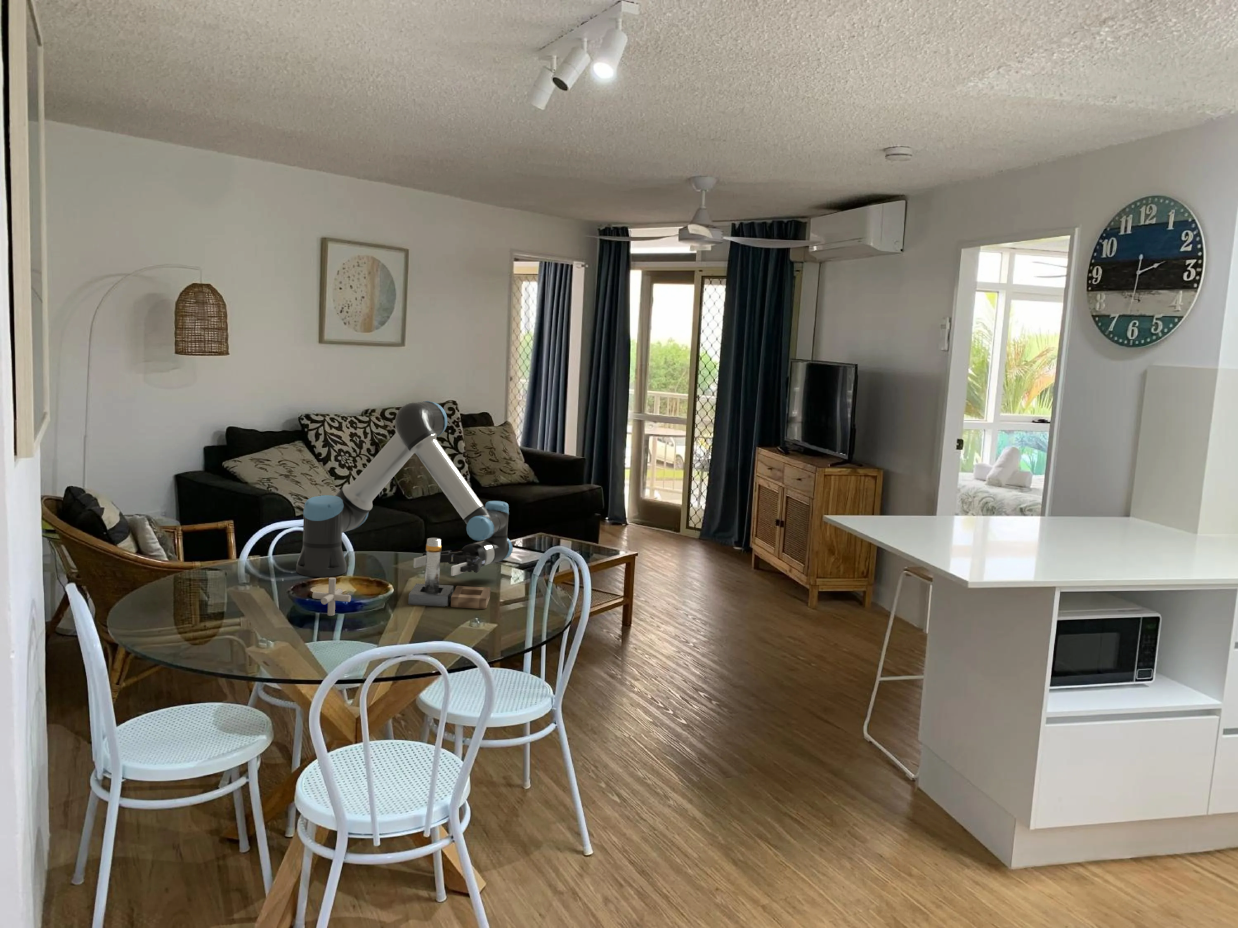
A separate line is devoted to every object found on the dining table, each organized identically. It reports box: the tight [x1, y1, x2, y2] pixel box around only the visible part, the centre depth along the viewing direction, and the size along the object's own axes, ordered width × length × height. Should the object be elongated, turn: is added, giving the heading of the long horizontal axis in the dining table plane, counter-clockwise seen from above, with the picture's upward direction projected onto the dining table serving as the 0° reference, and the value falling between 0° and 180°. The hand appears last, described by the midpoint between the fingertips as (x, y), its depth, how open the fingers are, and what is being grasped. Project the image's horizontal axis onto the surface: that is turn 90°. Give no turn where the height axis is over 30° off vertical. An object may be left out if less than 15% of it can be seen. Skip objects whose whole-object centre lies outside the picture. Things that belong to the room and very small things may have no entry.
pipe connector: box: [312, 577, 352, 617], centre depth 245 cm, size 10×10×10 cm
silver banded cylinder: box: [424, 537, 442, 593], centre depth 265 cm, size 4×4×18 cm
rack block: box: [450, 585, 492, 610], centre depth 267 cm, size 10×12×3 cm
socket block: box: [407, 583, 454, 607], centre depth 266 cm, size 11×12×3 cm
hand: (433, 567), depth 265 cm, fingers open, 13 cm apart
